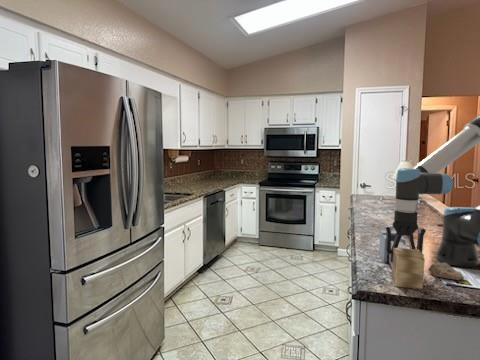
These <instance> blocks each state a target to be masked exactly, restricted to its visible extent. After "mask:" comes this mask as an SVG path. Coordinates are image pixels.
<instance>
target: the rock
mask: <svg viewBox="0 0 480 360" xmlns="http://www.w3.org/2000/svg"><path fill="white" fill-rule="evenodd" d="M427 271H429V272H430V273H431V275H432V276H433V277H435V278H443V279H448V280H450V279H451V280H453V281H454V280H455V281H460V280H463V279H465V276H464V274H463V273H462V272H459V271H457V270H456V269H455V268H454V267H451V265H450V264H447V263H445V262H441V261H440V262H439V261H438V262H435V263H433V264H431V265H430V266H429V268H428V269H427Z"/></svg>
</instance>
